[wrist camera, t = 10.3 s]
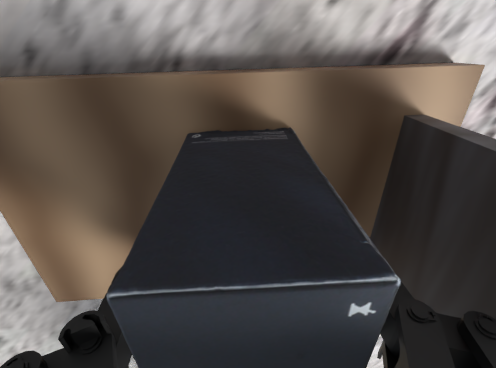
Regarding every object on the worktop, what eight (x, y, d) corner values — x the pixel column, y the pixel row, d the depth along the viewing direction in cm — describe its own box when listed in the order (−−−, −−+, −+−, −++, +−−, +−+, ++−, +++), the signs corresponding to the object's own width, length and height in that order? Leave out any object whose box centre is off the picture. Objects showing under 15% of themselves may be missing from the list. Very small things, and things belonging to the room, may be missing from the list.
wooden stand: (70, 280, 21) (-59, 474, 12) (-39, 78, 13) (-698, 159, 4) (388, 257, 23) (505, 411, 13) (454, 62, 15) (863, 92, 5)
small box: (178, 129, 14) (77, 297, 4) (295, 124, 14) (424, 270, 5) (200, 267, 19) (174, 478, 10) (286, 261, 19) (340, 459, 10)
